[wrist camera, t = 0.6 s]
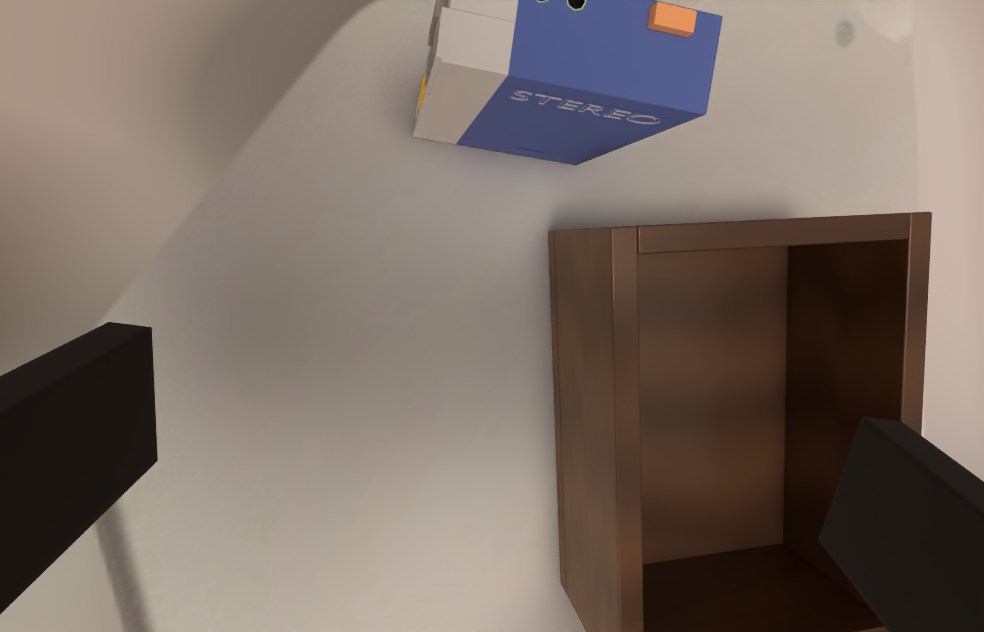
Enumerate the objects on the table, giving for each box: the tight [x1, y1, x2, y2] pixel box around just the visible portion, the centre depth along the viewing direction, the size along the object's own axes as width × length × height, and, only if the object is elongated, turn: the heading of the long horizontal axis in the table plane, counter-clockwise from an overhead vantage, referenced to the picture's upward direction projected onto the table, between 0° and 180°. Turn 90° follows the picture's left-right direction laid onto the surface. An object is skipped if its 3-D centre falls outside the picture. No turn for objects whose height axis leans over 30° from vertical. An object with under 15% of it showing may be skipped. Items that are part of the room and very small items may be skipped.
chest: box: [548, 212, 932, 632], centre depth 27 cm, size 18×13×8 cm
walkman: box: [413, 0, 722, 165], centre depth 22 cm, size 8×3×12 cm, turn 81°
